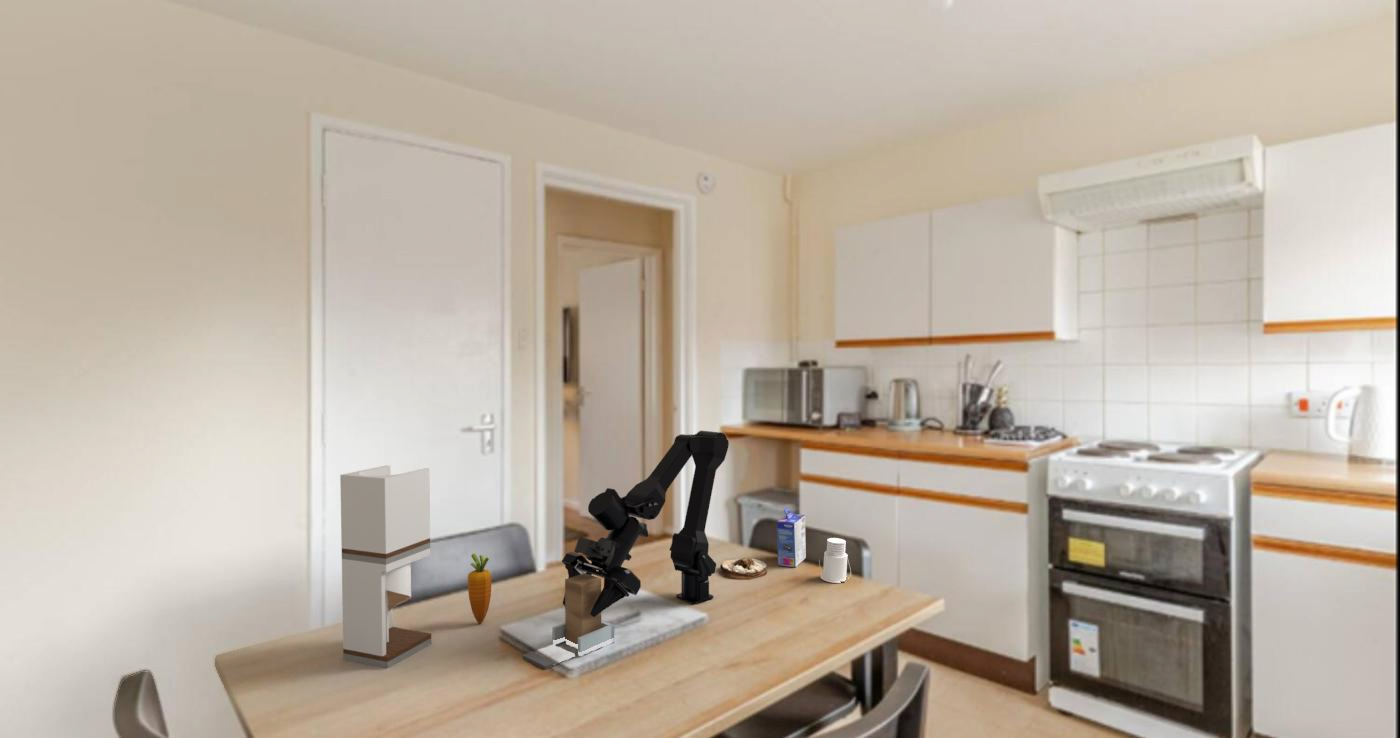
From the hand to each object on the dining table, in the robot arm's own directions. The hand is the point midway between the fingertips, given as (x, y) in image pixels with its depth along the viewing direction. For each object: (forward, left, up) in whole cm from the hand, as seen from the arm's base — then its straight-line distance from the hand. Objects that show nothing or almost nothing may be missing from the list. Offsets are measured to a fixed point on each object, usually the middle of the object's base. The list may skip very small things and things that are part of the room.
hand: (577, 610), depth 138 cm
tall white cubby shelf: (-21, -30, -7) cm, 37 cm away
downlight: (+6, +70, -7) cm, 71 cm away
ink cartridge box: (-11, +72, -7) cm, 74 cm away
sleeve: (0, -2, -7) cm, 7 cm away
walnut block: (0, +1, -7) cm, 7 cm away
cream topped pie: (-13, +56, -8) cm, 58 cm away
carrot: (-23, -11, -7) cm, 26 cm away
